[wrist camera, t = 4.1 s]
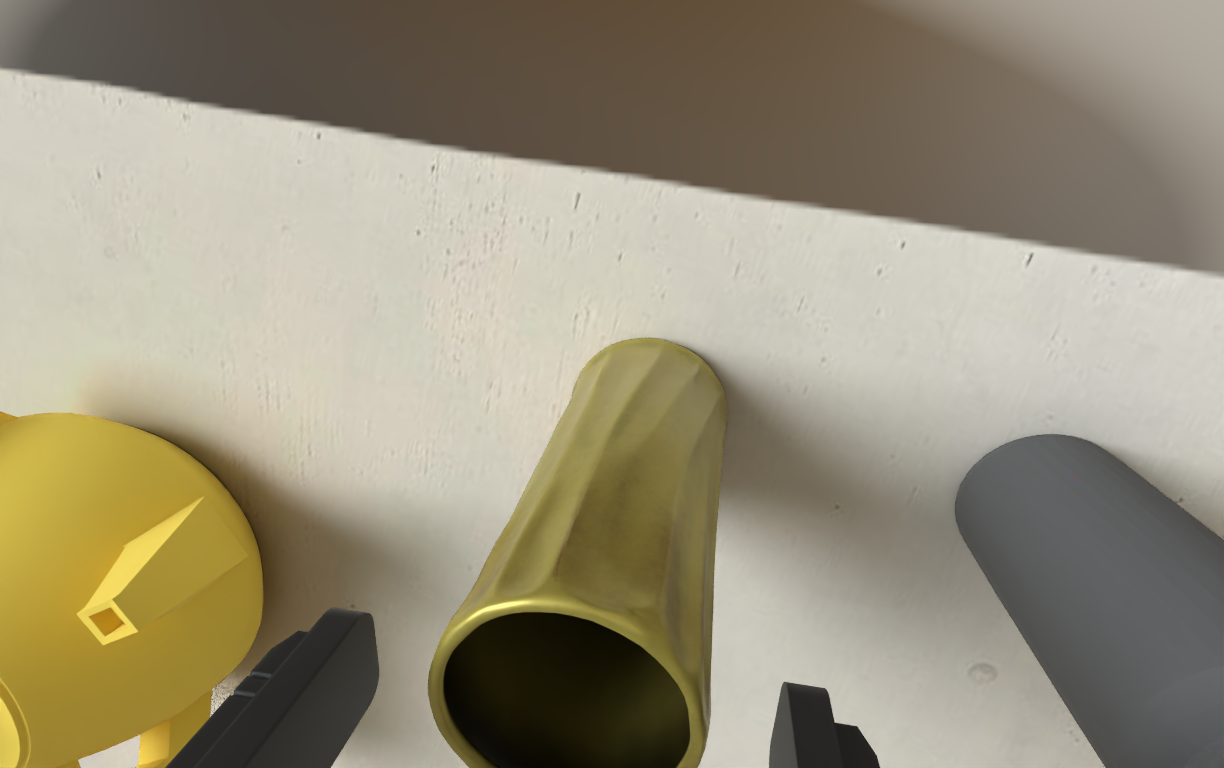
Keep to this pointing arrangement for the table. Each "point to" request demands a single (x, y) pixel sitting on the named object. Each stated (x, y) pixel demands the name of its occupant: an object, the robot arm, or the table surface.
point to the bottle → (1106, 595)
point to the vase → (599, 582)
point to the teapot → (114, 590)
